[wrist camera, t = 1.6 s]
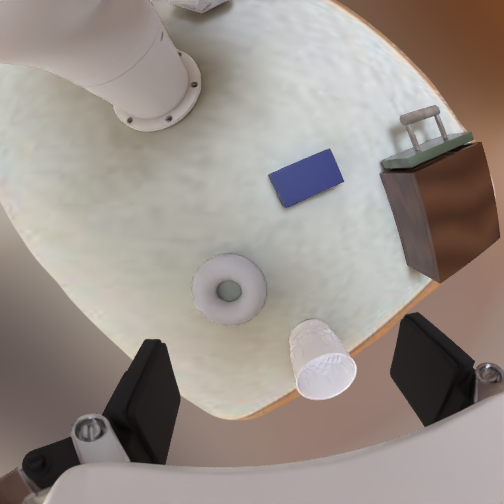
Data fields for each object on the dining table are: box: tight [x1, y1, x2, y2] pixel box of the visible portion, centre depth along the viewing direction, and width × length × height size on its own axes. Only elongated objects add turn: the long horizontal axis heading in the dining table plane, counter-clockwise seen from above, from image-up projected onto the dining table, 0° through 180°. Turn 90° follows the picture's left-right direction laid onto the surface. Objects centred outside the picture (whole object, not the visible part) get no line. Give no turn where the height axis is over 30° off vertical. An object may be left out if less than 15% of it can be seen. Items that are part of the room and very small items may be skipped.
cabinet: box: [380, 142, 500, 283], centre depth 31 cm, size 15×15×9 cm
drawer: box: [382, 105, 474, 171], centre depth 30 cm, size 18×14×7 cm
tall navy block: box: [269, 149, 344, 208], centre depth 33 cm, size 8×4×3 cm, turn 116°
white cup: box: [289, 319, 357, 400], centre depth 35 cm, size 8×8×10 cm
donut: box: [191, 254, 267, 326], centre depth 36 cm, size 10×3×10 cm
